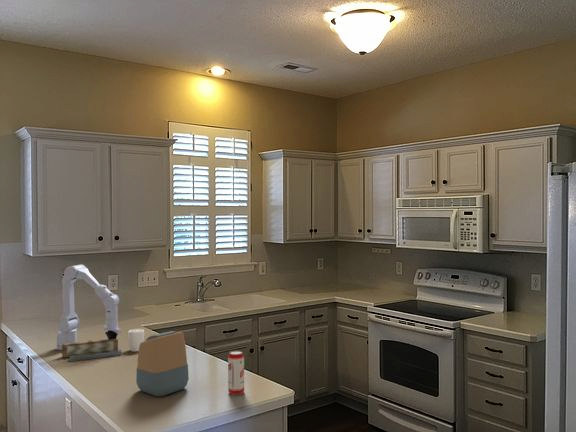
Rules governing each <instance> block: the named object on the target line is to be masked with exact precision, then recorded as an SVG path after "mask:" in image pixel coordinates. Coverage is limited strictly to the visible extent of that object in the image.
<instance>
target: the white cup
mask: <svg viewBox="0 0 576 432" xmlns="http://www.w3.org/2000/svg"><path fill="white" fill-rule="evenodd" d="M127 334H128V346H129V351H130V352H138V351H139V345H140V343H142V342H144V341H145V329H143V328H134V329H130V330H128V333H127Z"/></svg>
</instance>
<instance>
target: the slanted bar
mask: <svg viewBox="0 0 576 432" xmlns="http://www.w3.org/2000/svg"><path fill="white" fill-rule="evenodd" d="M122 354H123V353H122V349H118V350H115V351H106V352H97V353H89V354H80V355H71V356H69V357H68V358H69V360H68V361H69V362H76V361H77V362H78V361H84V360H92V359H94V360H95V359H101V358H109V357H118V356H122Z"/></svg>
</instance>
